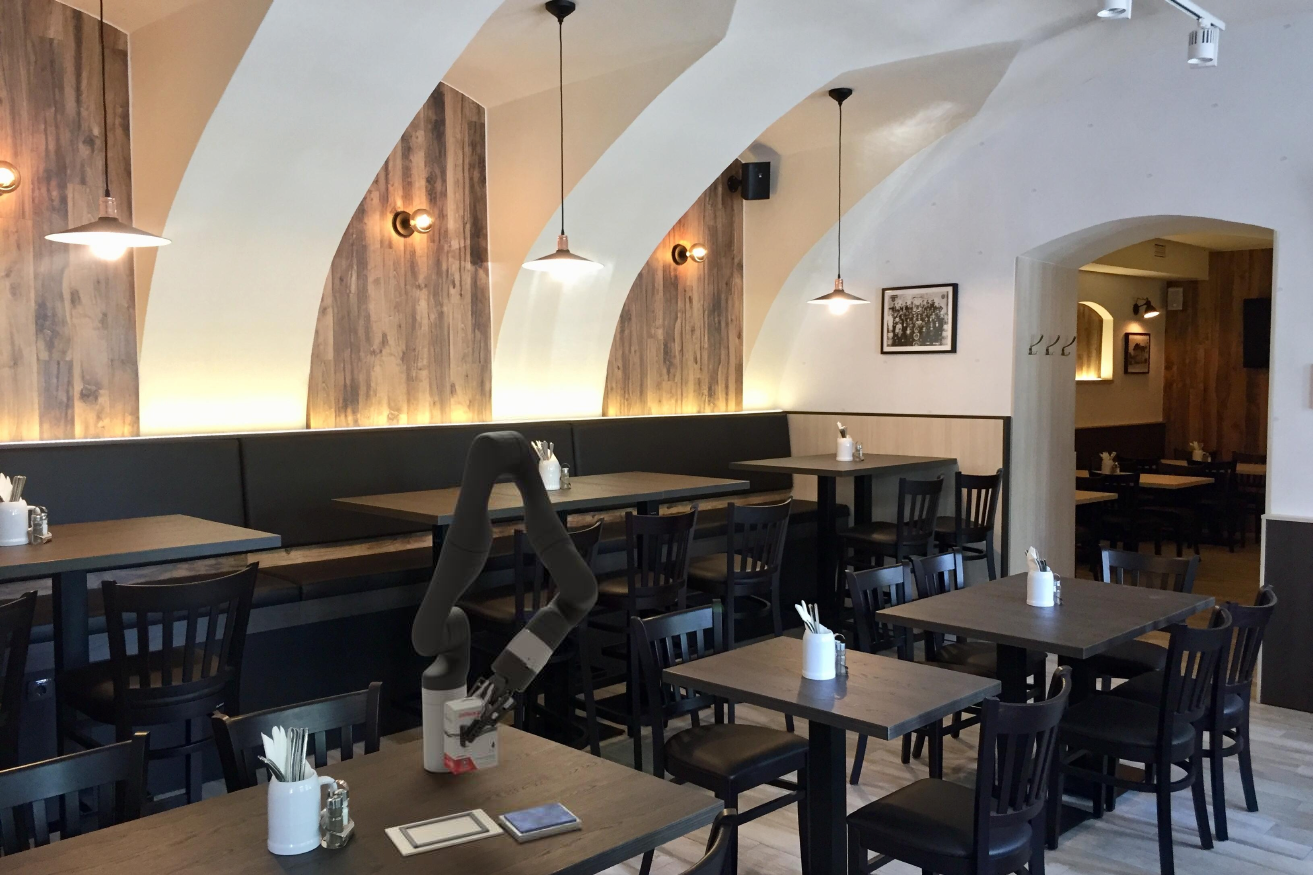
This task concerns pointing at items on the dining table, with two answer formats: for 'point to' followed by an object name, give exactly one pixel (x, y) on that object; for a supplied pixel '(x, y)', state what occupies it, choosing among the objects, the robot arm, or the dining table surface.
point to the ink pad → (539, 822)
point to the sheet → (443, 832)
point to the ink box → (456, 748)
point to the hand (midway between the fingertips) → (460, 735)
